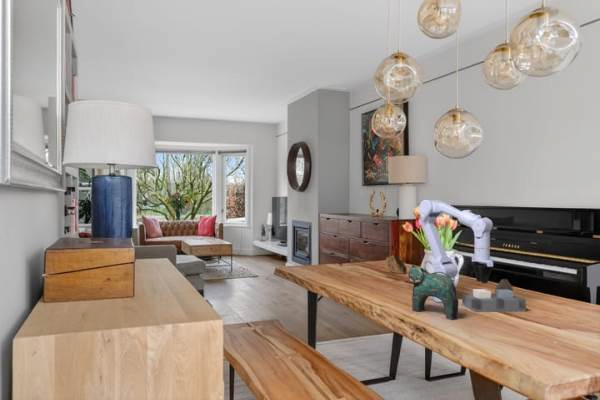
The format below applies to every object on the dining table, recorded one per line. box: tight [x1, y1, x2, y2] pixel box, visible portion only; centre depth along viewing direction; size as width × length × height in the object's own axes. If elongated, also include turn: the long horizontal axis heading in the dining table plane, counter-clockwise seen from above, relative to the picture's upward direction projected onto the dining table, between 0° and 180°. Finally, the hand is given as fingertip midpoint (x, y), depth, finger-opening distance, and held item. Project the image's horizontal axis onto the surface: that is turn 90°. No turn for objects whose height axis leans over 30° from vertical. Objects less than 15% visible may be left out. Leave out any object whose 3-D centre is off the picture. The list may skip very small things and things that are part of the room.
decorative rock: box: [385, 254, 407, 275], centre depth 259 cm, size 12×6×11 cm, turn 49°
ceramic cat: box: [408, 260, 459, 321], centre depth 166 cm, size 20×6×20 cm, turn 37°
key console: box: [461, 292, 527, 313], centre depth 176 cm, size 20×12×4 cm, turn 92°
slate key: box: [494, 288, 514, 298], centre depth 176 cm, size 5×5×4 cm
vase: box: [495, 278, 514, 292], centre depth 191 cm, size 7×7×9 cm
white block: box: [472, 288, 492, 298], centre depth 176 cm, size 5×5×4 cm
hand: (482, 282), depth 176 cm, fingers open, 4 cm apart
